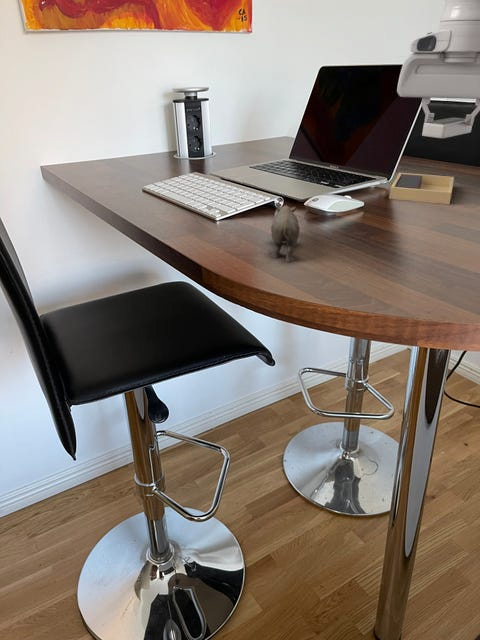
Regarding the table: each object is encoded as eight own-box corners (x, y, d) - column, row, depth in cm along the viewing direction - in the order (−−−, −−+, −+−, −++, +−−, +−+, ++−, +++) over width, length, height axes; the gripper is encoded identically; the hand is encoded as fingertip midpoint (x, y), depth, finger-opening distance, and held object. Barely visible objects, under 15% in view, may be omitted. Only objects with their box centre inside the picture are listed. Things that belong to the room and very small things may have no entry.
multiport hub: (420, 135, 93) (423, 122, 92) (450, 129, 100) (452, 117, 99) (442, 138, 91) (445, 125, 89) (471, 132, 97) (474, 119, 96)
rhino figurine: (297, 232, 82) (299, 195, 79) (298, 264, 70) (301, 222, 67) (272, 231, 82) (273, 195, 79) (269, 263, 70) (270, 222, 67)
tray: (397, 184, 110) (399, 172, 109) (451, 188, 106) (454, 176, 105) (388, 199, 99) (390, 187, 97) (449, 205, 95) (451, 192, 94)
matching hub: (401, 183, 108) (402, 174, 107) (420, 185, 107) (422, 175, 106) (394, 196, 99) (396, 186, 98) (415, 198, 98) (417, 187, 97)
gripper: (527, 40, 87) (507, 124, 93) (406, 41, 94) (395, 120, 100) (531, 40, 82) (509, 129, 88) (402, 41, 88) (391, 124, 95)
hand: (448, 124), depth 94 cm, fingers closed on multiport hub, 6 cm apart
